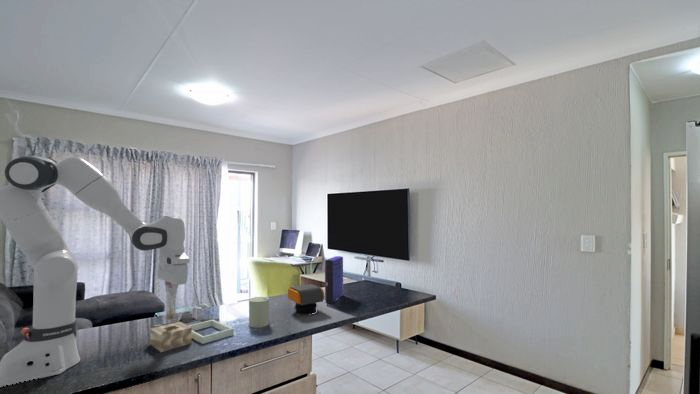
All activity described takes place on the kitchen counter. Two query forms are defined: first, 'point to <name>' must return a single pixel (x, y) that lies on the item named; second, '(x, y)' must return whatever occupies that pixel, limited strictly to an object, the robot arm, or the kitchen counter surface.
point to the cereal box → (333, 278)
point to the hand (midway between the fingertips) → (171, 293)
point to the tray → (208, 338)
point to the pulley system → (187, 319)
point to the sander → (306, 298)
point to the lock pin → (170, 303)
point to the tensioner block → (170, 336)
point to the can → (258, 312)
